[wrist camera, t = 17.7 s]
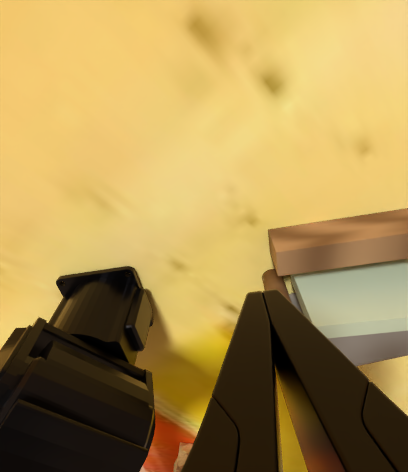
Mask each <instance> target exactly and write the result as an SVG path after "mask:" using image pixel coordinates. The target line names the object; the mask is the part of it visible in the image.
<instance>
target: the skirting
mask: <svg viewBox="0 0 408 472" xmlns="http://www.w3.org/2000/svg"><path fill="white" fill-rule="evenodd" d="M268 234H269V246H270V253H271V256H272V260H273V263H274V266H275V269H276V272H277V275H278V276H283V275H291V274H298V273H305V272H313V271H320V270H327V269H334V268H342V267H349V266H356V265H364V264H371V263H378V262H386V261H393V260H400V259H407V258H408V208H407V209H401V210H394V211H387V212H381V213H374V214H368V215H361V216H355V217H348V218H342V219H335V220H329V221H322V222H315V223H309V224H302V225H296V226H289V227H283V228H276V229H270V230H268Z"/></svg>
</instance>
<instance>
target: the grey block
mask: <svg viewBox="0 0 408 472" xmlns="http://www.w3.org/2000/svg"><path fill="white" fill-rule="evenodd" d="M289 296H290V299H291V302H292V304H293V305H294V306H295V307H296V308H297V309H298V310H299V311H300V312H301V313H302V314H303V311H302V309H301V306H300V303H299V301H298V298H297V295H296V293H292V294H289ZM303 315H304V314H303ZM328 339H329V340H330V341H331V342H332V343H333V344H334V345H335V346H336V347H337V348H338V349H339V350H340V351H341V352H342V353H343V354H344V355H345V356H346V357H347V358H348V359H349V360H350V361H351V362H352V363H353V364H354V365H355V366H360V365H364V364H369V363H374V362H378V361H383V360H388V359H393V358H397V357H402V356H407V355H408V331H398V332H388V333H378V334H367V335H357V336H347V337H337V338H328Z"/></svg>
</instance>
